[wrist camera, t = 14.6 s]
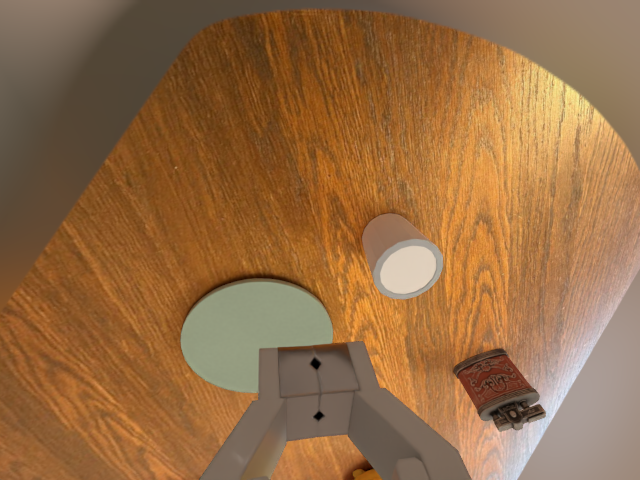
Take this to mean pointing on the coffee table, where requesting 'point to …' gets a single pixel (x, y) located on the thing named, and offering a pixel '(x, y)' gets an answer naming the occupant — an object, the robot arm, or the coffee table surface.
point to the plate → (249, 329)
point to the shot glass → (400, 257)
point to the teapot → (366, 475)
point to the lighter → (499, 390)
